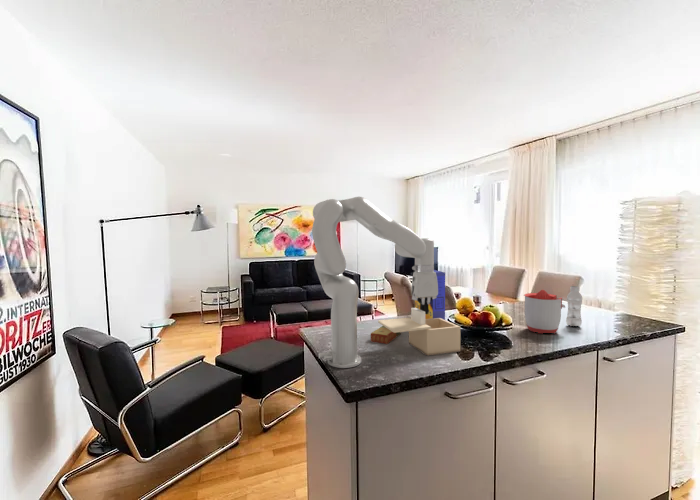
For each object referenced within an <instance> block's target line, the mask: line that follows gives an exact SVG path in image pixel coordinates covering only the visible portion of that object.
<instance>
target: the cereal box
mask: <svg viewBox="0 0 700 500" xmlns="http://www.w3.org/2000/svg"><path fill="white" fill-rule="evenodd" d="M434 272H436V276H437V282H438V295H437V298H435V299H432V300H431V302H430V304H429V311H428V314H425V319H432V318H441V319H444V320H446V272H444V271H441V270H436V269H434ZM414 308H418V309H420V303H419V302H418V301H416V300H414Z"/></svg>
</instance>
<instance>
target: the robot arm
mask: <svg viewBox="0 0 700 500" xmlns="http://www.w3.org/2000/svg"><path fill="white" fill-rule="evenodd" d="M312 215H313V218H314V220H313V222H312V223H313V224H312V228H311V235H312V236H311V237H312V239H313V244H314V246H315V250H316V254H315V256H314V259H313V261H314V264H313V265H314V268H315V272H316V274H317V277H318V279H319V282H320V284H321V287H322V289H323V291H324V293H325V294H326V296H328V297H329V298H331V299H332V304H331V309H330V323H331V324H330V325H331V326H330V331H331V333H330V336H331V337H330V339H331V340H330V341H331V342H330V347H331V348H329V350H328V351H326V352H319V353H318V359H323V360H324V361H326V360H327V364H328V365H329V366H331V367H333V368H338V369H351V368H355V367H357V366H359V365H360V364H361V363H362V356H360V355H358V319H357V318H358V314H357V313H358V300H359V295H360V294H359V293H360V292H359V287H358V284H357V283H356V281H355V280H353V279H352V278H350V277H348V276H345V275H344V274H343V273H344V272H345V270H346V268H347V260H346V258H345V255H344V252H343V250H342V247H341V245H340V241H339V237H338V234H337V228H338V224H339V223H342V222H348V221H356V222H357V223H359V224H360V225H362V226H363V227H364V228H365V229H367V230H368V231H369V232H370V233H372V235H374V236H376V237H378V238H381V239H383V240H387V241H390V242H392V243H394V252H395V253H396V254H397V255H398V256H401V257H402V258H403V257H404V258H413V259H414V265H413V266H412V267H411V269H412V270H413V272H412V278H411V287H410V288H411V290H410V291H411V295H412V297H411V300H413V301H415V300H416V301H418V302H419V303H420V310H422V311H425V314H428V311H429V304H430V302H431V300H432V299H435V298H437V295H438V282H437V276H436V272H434V270H435V263H434V262H435V241H434V239H433V238H428V237H427V238H423V237H422V238H421V237H420V236H419V235H417V233H415V232H414V231H413V230H411V229H410V228H409V227H406V226H405V225H403V224H401V223H399V222H398V221H396V220H394V219H392V218H390V217H389V216H388V215H387V214H385V213H384V212H383V211H381V210H380V209H379V208H378V207H377V206H375V205H374V204H373V203H372V202H371V201H369V200H368V199H367V198H365V197H363V196H355V197H351V198H347V199H335V198H330V199H326V200H322V201H319V202H317V203H316V204H315V205H314V207H313V209H312Z"/></svg>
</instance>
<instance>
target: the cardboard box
mask: <svg viewBox="0 0 700 500" xmlns="http://www.w3.org/2000/svg"><path fill="white" fill-rule="evenodd" d="M425 324H426V325H428V326H430V327H431V329H425V330H416V331H408V344H409V345H410V346H411V347H413V348H414V349H416V350H418V351H419V352H421V353H422V354H423V355H425V356H435V355H442V354H443V355H444V354H450V353H452V354H453V353H457V352H458V353H459V352H461V326H460V325H458V324H455V323H453V322H450V321H449V320H446V319H445V320H444V319H441V318H432V319H425Z"/></svg>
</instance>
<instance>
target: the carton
mask: <svg viewBox="0 0 700 500" xmlns="http://www.w3.org/2000/svg"><path fill="white" fill-rule="evenodd" d="M400 335H401V332H397V333H394V332H392V331H391V330H389V329H388V328H386V327H384V326H383V325H381V326H380V327H379V328H377V329H375V330H373V331H372V332H371V333H370V342H372V343H379V344H385V345H388V344H390V343H391V342H392V341H394V340H395V339H396V338H397V337H399V336H400Z"/></svg>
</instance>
